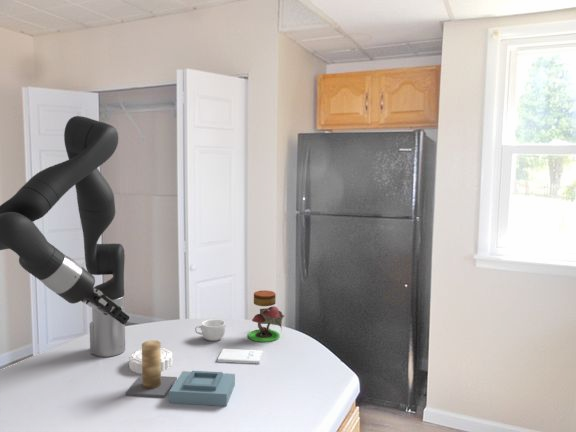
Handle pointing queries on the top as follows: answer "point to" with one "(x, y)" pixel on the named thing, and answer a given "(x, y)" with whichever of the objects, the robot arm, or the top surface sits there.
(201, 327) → the teacup
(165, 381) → the grey rubber coaster
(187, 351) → the top surface
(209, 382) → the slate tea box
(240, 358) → the external hard drive
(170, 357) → the mooncake
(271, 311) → the mushroom figurine
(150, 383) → the oak stopper
